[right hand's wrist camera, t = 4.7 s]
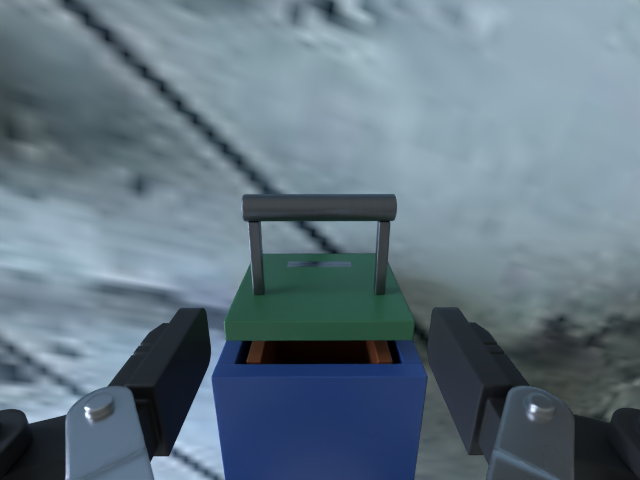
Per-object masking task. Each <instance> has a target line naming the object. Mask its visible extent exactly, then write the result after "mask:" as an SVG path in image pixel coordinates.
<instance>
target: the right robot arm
mask: <svg viewBox="0 0 640 480" xmlns="http://www.w3.org/2000/svg"><path fill="white" fill-rule="evenodd" d="M427 353H428V361H429V364H430V367H431V369H432V372H433V374H434V376H435V379H436V381H437V383H438V386H439V388H440V390H441V392H442V395H443V397H444V399H445V402H446V404H447V406H448V409H449V411H450V413H451V415H452V418H453V420H454V422H455V425H456V427H457V429H458V432H459V434H460V436H461V439H462V441H463V443H464V445H465V448H466V450H467V452H468V455H484V456H485V458H486V460H487V462H488V464H489V468H488V472H487V476H486V480H640V410H639V409H634V408H621V409H618V410H616V411H615V412H614V413H613V416H612V419H611V421H610V423H607V422H603V421H599V420H594V419H590V418H586V417H582V416H578V415H574V414H573V413H572V412H571V410H570V409H569V407H568V406H567V405H566V404H565V403H564V402H563V401H562V400H560V399H559V398H558V397H556V396H554V395H553V394H551V393H549V392H547V391H545V390H542V389H539V388H536V387H531V386H530V385H529V384H528V383H527V381H526V380H525V379H524V377H523V376H522V375H521V374H520V372H519V371H518V370H517V368H516V367H515V366H514V364H513V363H512V362H511V361H510V359H509V358H508V357H507V355H506V354H504V351H503V350H502V349H501V348H500V346H499V345H497V342H496V341H495V340H494V338H493V337H492V336H491V334H490V333H489V332H488V331H486V330H485V329H484V328H482V327H481V326H479V325H478V324H476V323H469V322H468V321H467V319H466V318H465V317H464V315H463V314H462V312H461V311H460V310H459V308H434V309H433V311H432V315H431V323H430V330H429V338H428V346H427ZM210 357H211V345H210V337H209V329H208V321H207V314H206V311H205V309H204V308H180V309H179V310H178V312H177V313H176V314H175V316H174V317H173V319H172V320H171V321H170V323H163V324H161V325H160V326H158V327H157V328H155V329H154V330H152V331H151V332H149V334H148V335H147V336H146V338H145V339H144V340H143V341H142V343H141V346H139V347H138V348H137V349H136V350H135V352H134V354H133V355H132V356H131V357H130V358H129V359H128V361H127V362H126V363H125V365H124V366H123V367H122V368H121V370H120V371H119V372H118V374H117V375H116V376H115V378H114V379H113V380H112V381H111V383H110V384H109V385H108V387H104V388H101V389H98V390H95V391H93V392H91V393H89V394H87V395H86V396H84V397H82V398H81V399H80V400H78V401H77V402H76V403H75V404H74V405H73V406H72V407H71V409H70V410H69V412H68V413H67V415H64V416H60V417H56V418H52V419H48V420H43V421H39V422H35V423H31V424H29V423H28V421H27V418H26V415H25V414H24V413H23V412H22V411H20V410H16V409H7V410H1V411H0V480H154V476H153V472H152V468H151V464H150V462H151V460H152V458H153V456H169V455H170V452H171V450H172V448H173V446H174V443H175V441H176V439H177V437H178V434H179V432H180V430H181V427H182V425H183V423H184V421H185V418H186V416H187V414H188V411H189V409H190V407H191V405H192V402H193V400H194V398H195V396H196V393H197V391H198V389H199V386H200V384H201V382H202V380H203V377H204V375H205V373H206V371H207V368H208V366H209V362H210Z"/></svg>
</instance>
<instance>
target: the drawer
mask: <svg viewBox="0 0 640 480" xmlns="http://www.w3.org/2000/svg"><path fill="white" fill-rule="evenodd" d="M241 211H242V217H243V220H244V221H249V222H248V231H249V244H250V257H251V263H250V265H249V267H248V270H247V272H246V274H245V276H244V278H243V281H242V283H241V285H240V287H239V289H238V291H237V294H236V296H235V298H234V300H233V302H232V305H231V307H230V309H229V311H228V313H227V315H226V318H225V320H224V330H225V339H226V341H252V344H251V348H250V351H249V355H248V358H247V361H246V363H247V364H392V358H391V354H390V351H389V348H388V344H387V341H386V340H413V337H414V327H415V320H414V318H413V316H412V314H411V311H410V309H409V307H408V305H407V303H406V300H405V298H404V296H403V294H402V292H401V290H400V287H399V285H398V283H397V281H396V279H395V276H394V274H393V272H392V270H391V268H390V266H389V263H388V248H389V234H390V221H394V220H395V217H396V212H397V201H396V197H395V195H394V194H245V195H243V197H242V202H241ZM261 221H378V224H377V241H376V254H263V250H262V235H261Z"/></svg>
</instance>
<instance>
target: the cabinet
mask: <svg viewBox="0 0 640 480" xmlns="http://www.w3.org/2000/svg"><path fill="white" fill-rule="evenodd" d="M386 341H387V344H388V348H389V351H390V354H391V358H392V364H247V363H246V361H247V358H248V355H249V351H250V348H251V344H252V341H226V343H225V346H224V348H223V351H222V353H221V355H220V358H219V360H218V363H217V365H216V367H215V370H214V372H213V375H212V377H211V379H212V386H213V393H214V401H215V408H216V415H217V422H218V430H219V437H220V444H221V452H222V459H223V466H224V474H225V480H414V477H415V470H416V462H417V454H418V446H419V439H420V431H421V423H422V416H423V408H424V400H425V393H426V385H427V374H426V372H425V369H424V367H423V364H422V362H421V359H420V357H419V354H418V352H417V350H416V347H415V345H414V342H413V340H386Z"/></svg>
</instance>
